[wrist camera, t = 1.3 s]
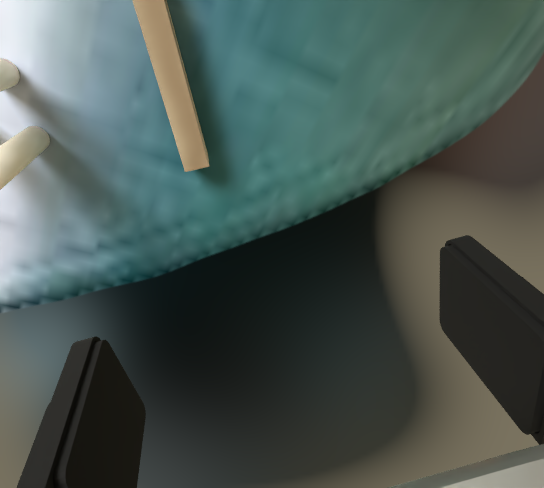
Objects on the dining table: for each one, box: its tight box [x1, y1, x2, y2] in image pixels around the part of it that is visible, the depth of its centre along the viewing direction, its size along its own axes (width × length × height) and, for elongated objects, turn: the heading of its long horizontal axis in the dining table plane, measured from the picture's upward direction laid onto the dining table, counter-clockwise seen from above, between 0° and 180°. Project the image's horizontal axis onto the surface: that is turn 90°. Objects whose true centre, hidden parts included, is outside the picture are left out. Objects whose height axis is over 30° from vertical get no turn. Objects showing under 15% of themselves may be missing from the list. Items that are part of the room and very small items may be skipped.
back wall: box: [133, 0, 209, 172], centre depth 31 cm, size 2×14×3 cm, turn 11°
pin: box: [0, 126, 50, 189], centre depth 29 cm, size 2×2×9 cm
